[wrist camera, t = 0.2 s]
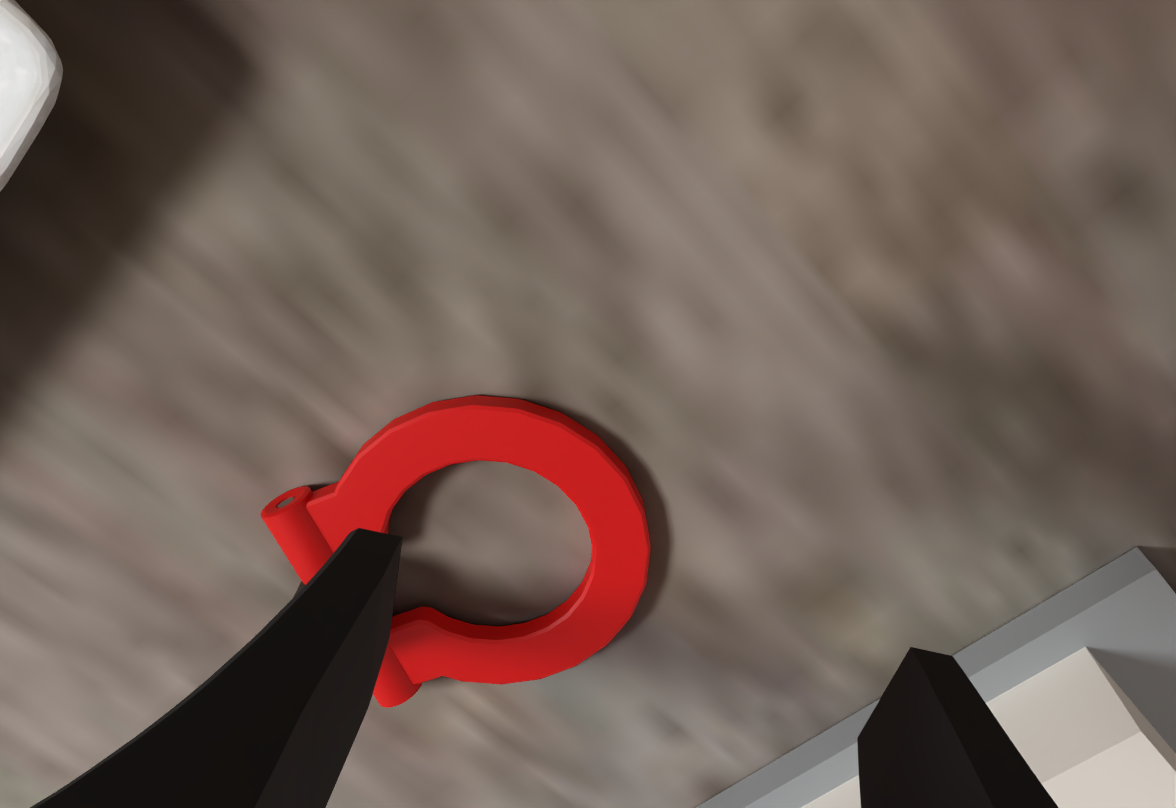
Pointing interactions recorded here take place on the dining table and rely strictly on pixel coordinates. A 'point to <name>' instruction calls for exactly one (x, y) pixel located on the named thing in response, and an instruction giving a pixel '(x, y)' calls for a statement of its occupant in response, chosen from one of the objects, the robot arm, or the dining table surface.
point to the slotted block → (1041, 702)
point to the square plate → (24, 84)
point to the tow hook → (489, 434)
